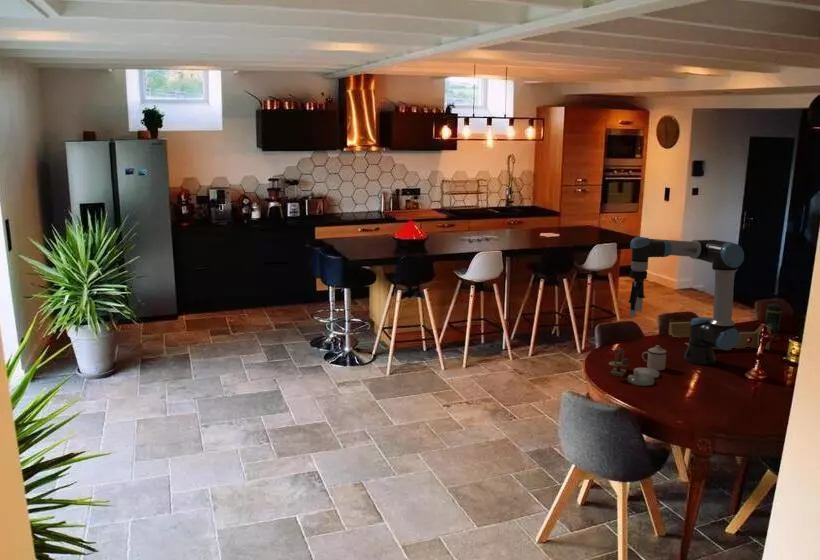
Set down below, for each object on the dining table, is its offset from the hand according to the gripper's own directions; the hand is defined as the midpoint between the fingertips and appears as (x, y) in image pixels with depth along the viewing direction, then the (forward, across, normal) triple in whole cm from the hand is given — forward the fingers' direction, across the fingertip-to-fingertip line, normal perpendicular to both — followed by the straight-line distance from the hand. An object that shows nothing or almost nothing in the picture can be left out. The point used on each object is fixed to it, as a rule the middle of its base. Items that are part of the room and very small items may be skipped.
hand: (635, 313), depth 328 cm
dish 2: (+31, +7, +6) cm, 32 cm away
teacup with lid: (+31, -20, +7) cm, 38 cm away
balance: (+31, 0, -6) cm, 31 cm away
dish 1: (+31, -6, +6) cm, 32 cm away
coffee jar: (+31, -132, +55) cm, 146 cm away
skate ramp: (+31, -86, +29) cm, 96 cm away
